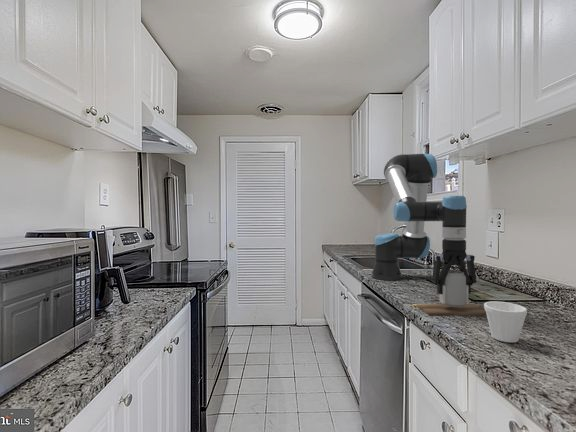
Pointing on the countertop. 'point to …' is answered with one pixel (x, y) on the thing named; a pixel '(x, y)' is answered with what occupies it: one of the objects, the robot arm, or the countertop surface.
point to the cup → (505, 320)
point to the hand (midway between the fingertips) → (453, 302)
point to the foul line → (417, 304)
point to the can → (455, 288)
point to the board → (451, 309)
